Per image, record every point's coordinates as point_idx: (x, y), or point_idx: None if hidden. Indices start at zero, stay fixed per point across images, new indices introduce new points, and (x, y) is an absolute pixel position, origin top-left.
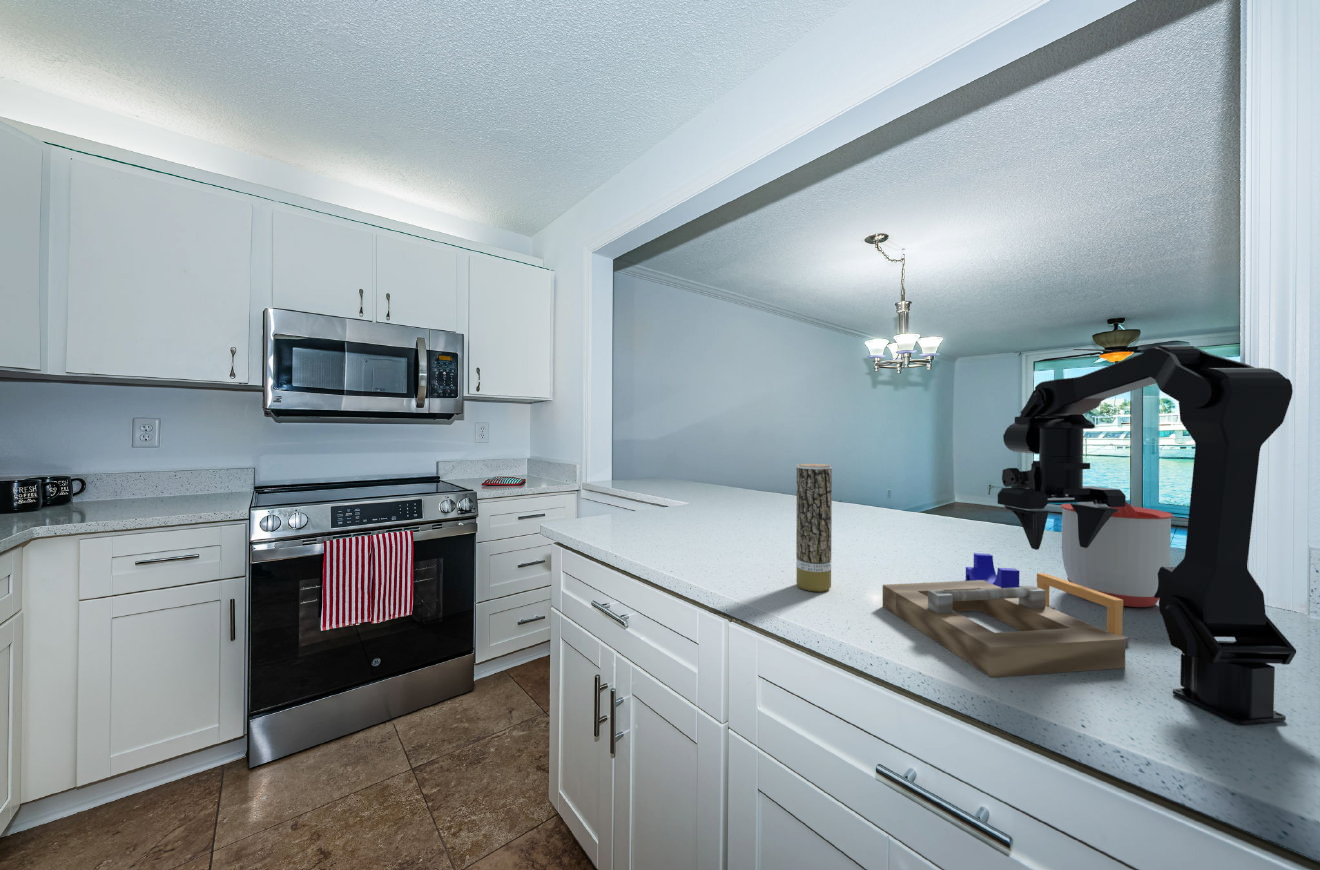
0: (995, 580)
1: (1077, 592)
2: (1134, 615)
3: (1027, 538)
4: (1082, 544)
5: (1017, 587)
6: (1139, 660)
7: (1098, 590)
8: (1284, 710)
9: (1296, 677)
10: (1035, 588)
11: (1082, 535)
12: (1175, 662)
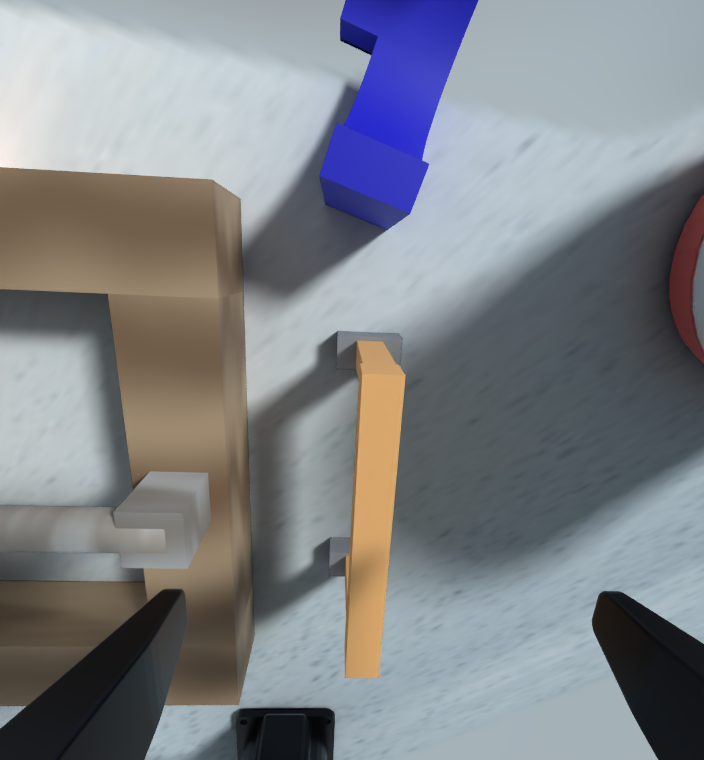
0: (344, 125)
1: (350, 549)
2: (639, 410)
3: (91, 651)
4: (611, 621)
5: (76, 541)
6: (324, 614)
7: (694, 315)
8: (370, 751)
9: (545, 689)
10: (157, 552)
11: (673, 699)
12: (392, 628)
